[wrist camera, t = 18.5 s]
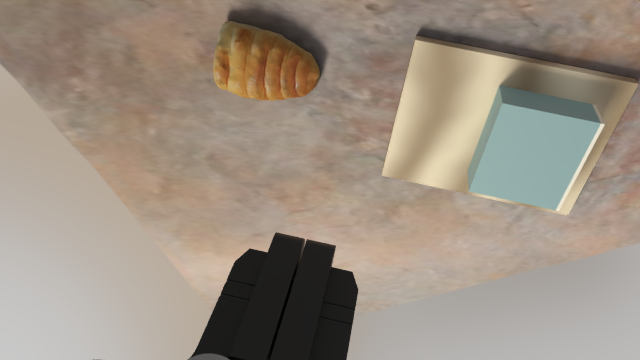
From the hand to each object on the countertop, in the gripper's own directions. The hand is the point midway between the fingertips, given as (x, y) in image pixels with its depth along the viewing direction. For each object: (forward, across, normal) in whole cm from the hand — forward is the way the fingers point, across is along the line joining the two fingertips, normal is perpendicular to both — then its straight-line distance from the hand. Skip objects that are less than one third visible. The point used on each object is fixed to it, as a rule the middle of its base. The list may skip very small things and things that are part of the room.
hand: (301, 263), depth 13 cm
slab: (+32, -11, +14) cm, 37 cm away
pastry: (+36, +10, +12) cm, 39 cm away
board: (+35, -12, +14) cm, 40 cm away
